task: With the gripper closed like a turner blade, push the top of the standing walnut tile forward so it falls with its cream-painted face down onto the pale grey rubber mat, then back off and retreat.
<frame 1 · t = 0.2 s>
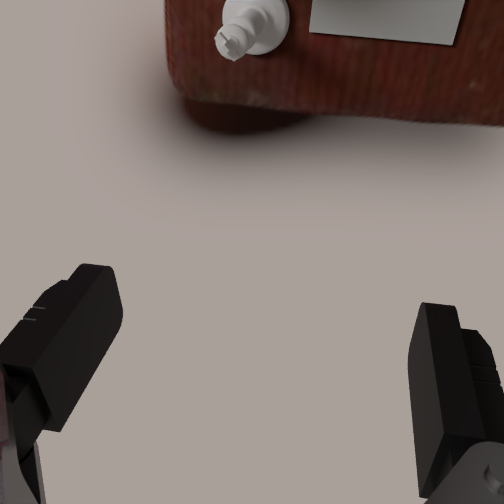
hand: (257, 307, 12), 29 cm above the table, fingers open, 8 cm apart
chess piece: (256, 17, 35), on the table
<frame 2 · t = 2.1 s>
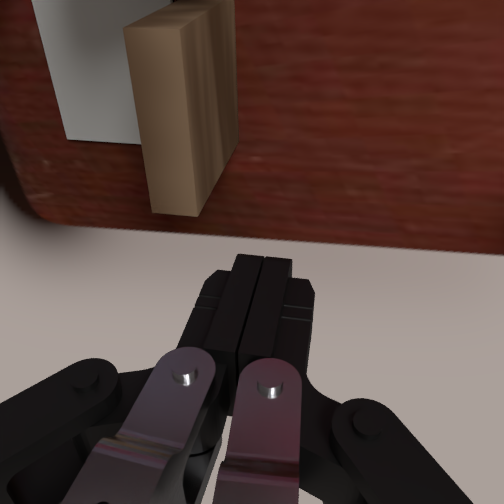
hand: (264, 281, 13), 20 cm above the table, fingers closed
tile: (217, 73, 30), on the table
mat: (114, 69, 31), on the table
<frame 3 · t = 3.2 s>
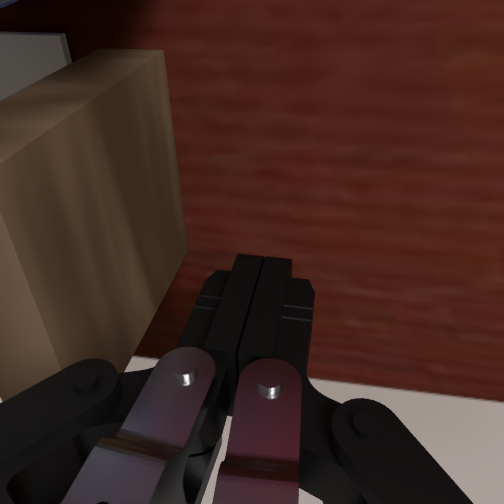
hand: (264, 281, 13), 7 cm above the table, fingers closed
tile: (149, 161, 20), on the table
mat: (1, 151, 21), on the table
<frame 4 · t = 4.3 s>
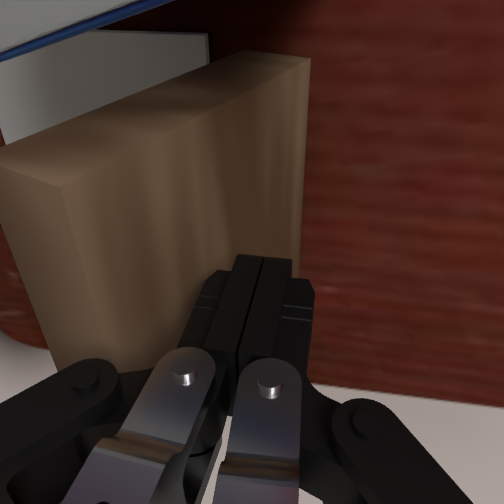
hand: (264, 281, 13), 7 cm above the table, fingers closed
tile: (274, 176, 18), on the table, tilted 20°
mat: (112, 159, 20), on the table
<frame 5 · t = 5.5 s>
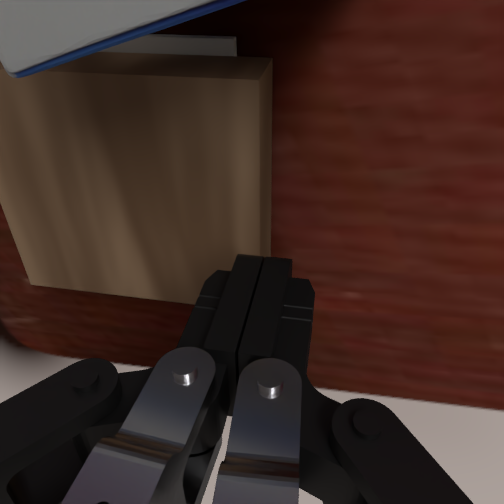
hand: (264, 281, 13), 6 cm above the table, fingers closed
tile: (265, 197, 17), point 2 cm above the table, tilted 90°, touching mat
mat: (133, 164, 19), on the table
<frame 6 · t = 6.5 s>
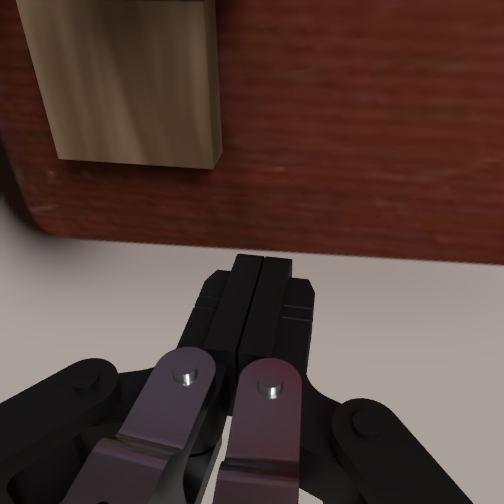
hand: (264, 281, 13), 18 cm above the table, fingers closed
tile: (214, 87, 27), point 2 cm above the table, tilted 90°, touching mat
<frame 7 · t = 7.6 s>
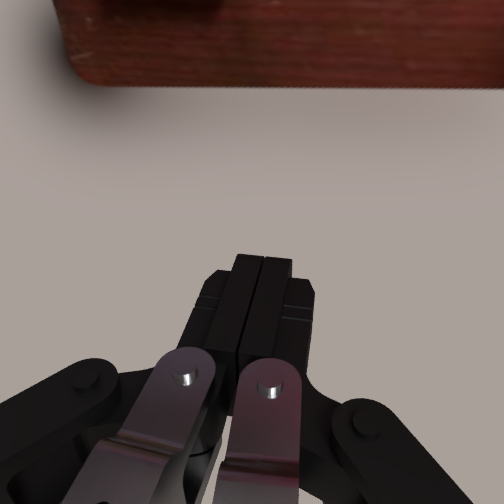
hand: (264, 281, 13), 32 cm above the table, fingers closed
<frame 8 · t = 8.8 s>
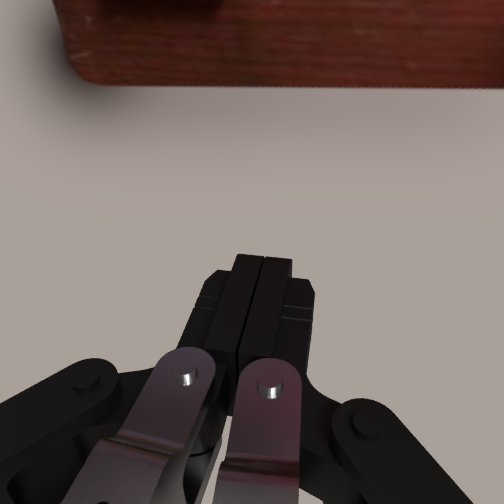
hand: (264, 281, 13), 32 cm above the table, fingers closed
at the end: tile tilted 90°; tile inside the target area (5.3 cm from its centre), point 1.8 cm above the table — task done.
